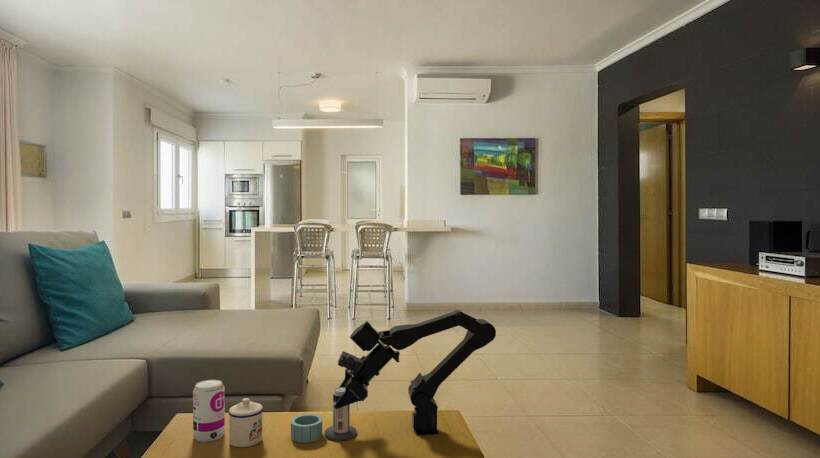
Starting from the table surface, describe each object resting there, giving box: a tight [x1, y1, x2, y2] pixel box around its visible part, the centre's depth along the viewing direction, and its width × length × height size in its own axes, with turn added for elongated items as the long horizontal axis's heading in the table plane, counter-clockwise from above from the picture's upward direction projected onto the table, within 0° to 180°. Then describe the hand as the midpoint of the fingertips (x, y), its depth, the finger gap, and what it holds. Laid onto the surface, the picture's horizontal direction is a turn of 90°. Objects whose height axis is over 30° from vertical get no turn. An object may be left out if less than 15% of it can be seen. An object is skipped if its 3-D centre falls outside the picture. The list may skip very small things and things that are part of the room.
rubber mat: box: [324, 425, 357, 442], centre depth 145 cm, size 9×9×1 cm
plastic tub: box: [290, 413, 323, 444], centre depth 143 cm, size 9×9×5 cm
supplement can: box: [192, 379, 226, 443], centre depth 143 cm, size 8×8×15 cm
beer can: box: [332, 386, 351, 434], centre depth 145 cm, size 5×5×12 cm
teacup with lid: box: [228, 397, 264, 448], centre depth 142 cm, size 12×9×12 cm
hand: (335, 401), depth 145 cm, fingers open, 9 cm apart
